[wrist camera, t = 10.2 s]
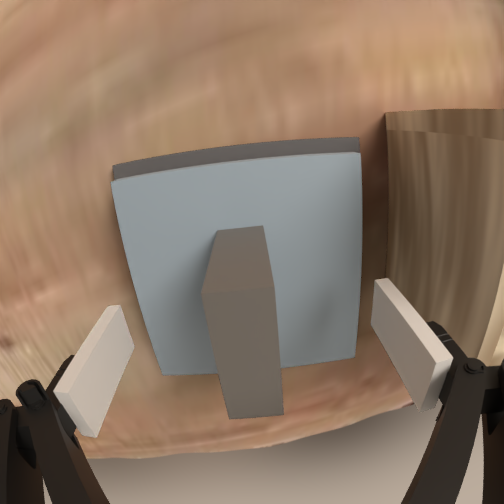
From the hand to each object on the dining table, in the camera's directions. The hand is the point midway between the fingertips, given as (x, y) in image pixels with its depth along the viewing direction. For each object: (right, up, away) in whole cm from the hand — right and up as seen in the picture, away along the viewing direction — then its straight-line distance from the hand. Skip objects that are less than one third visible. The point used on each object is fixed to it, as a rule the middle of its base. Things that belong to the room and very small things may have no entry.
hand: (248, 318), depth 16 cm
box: (+16, +7, +5) cm, 19 cm away
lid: (0, +2, +6) cm, 6 cm away
